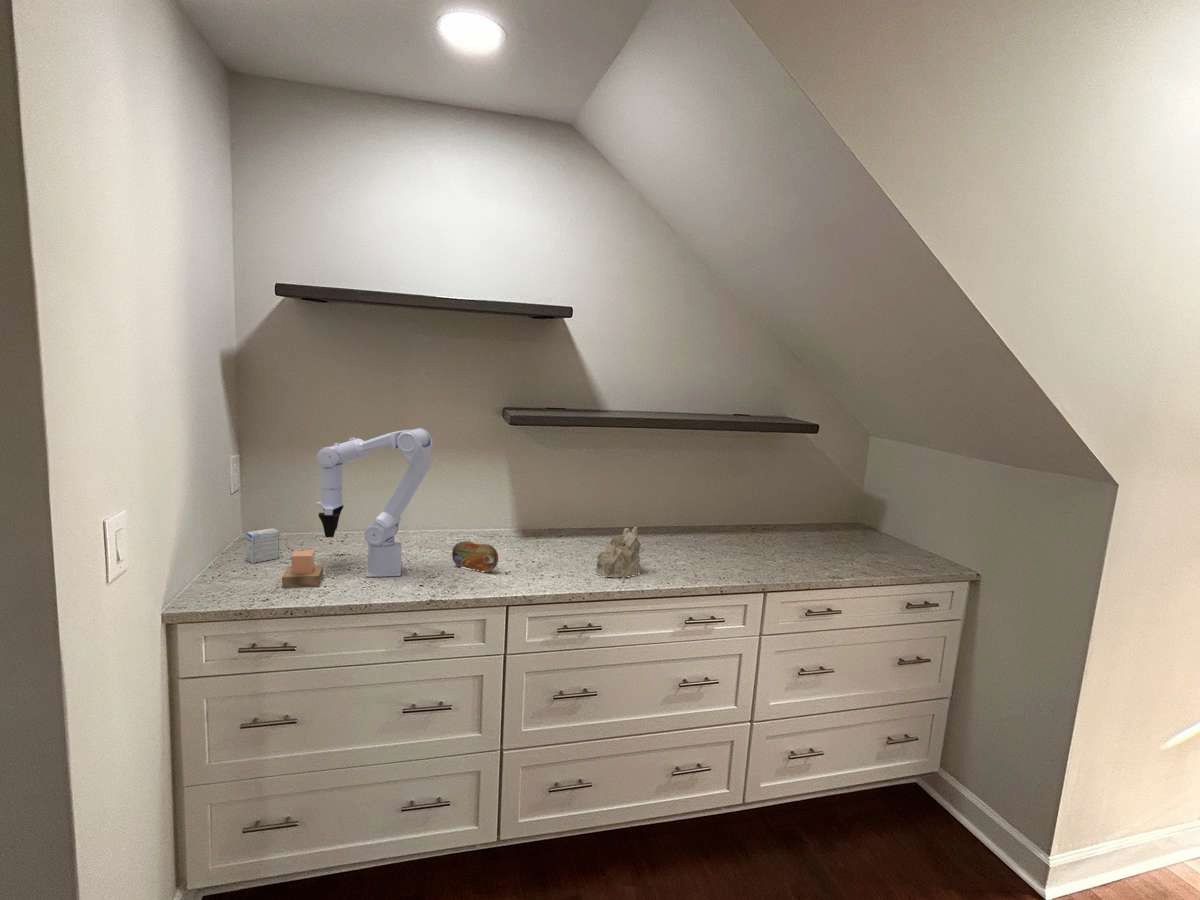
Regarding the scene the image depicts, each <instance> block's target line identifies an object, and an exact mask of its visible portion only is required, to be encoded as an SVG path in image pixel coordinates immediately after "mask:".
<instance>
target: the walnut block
mask: <svg viewBox="0 0 1200 900" xmlns="http://www.w3.org/2000/svg"><path fill="white" fill-rule="evenodd" d="M323 577H324V564H320V565H319V564H318V565H315V564H314V570H313V572H312V574H292V570H291V565H289V566H287V567H286V569H285V571H284V573H283V574H282V577H281V588H282V589H292V588H293V589H295V588H296V589H297V588H313V587H314V588H315V587H316V588H317V587H318V588H319V587H320V585H321V582H322V580H323Z"/></svg>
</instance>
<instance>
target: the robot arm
mask: <svg viewBox="0 0 1200 900" xmlns="http://www.w3.org/2000/svg"><path fill="white" fill-rule="evenodd" d="M433 444H434V443H433V440H432V438H431V435H430V433H429V432H428V431H427V430H426V429H425V428H422V427H415V428H414V429H405V430H398V431H393V432H389V433H386V434H383V435H379V436H377V437H373V438H371V439H367V440H363V439H361V438H356V437H350V438H349V439H348V441H345V442H342V443H341V442H335V443H334V444H333V445H331V446H325V447H323V448H321V449H320V450H319V451H318V452H317V455H316V460H317V463H318V464H319V465H320V501H316V503H315V505H316V506H318V507H319V506H320V507H321V508H322V509H323V512H319V513H318V518H319V519H320V522H321V524H322V528H323V531H324V536H325V538H334V537H335V533H336V530H338V529H337V528H338V524H339V520H340V516H341V513H342V510H343V509H344V502H343V469H344V468H343V467H344V464H347V463H350V462H354V461H357V460H360V459H364V458H366V457H367V455H368V453H369V452H371V451H375V450H378V449H382V448H386V447H392V448H393V449H398V450H399V451H400V452H401V454H402V455H403V457H404V458H405V459H406V460H407V464H408V466H409V467H407V469H406V472H404V474H403V476H402V478H401V480H400V481H399V483H398V484H397V487H396V488H395V489H394V491H393V493H392V495H391V497H390V498H389V500H388V502H387V503H386V505H385V506H384V508H383V510H382V511H381V512H380V514H379V515H377V516H376V517H375V518H374V520H373V522H372V523H370V524H369V525H367V526H366V527H365V529H364V532H363V535H364V539H365V541H366V543H367V544H368V545H367V546H368V547H367V568H366V571H365V578H377V577H379V578H380V577H400V576H402V568H403V561H402V542H397V541H396V540H395V536H396V535H397V534H398V531H399V525H400V523H401V521H402V519H401V516H402V515H403V513H404V512H405V510H406V508H407V507H408V505H409V503H410V501H411V500H412V498H413V496H414V495H415V493H416V491H417V490H418V488H419V487H420V485H421V483H422V481H423V480H424V479H425V476H426V475H427V473H428V472H429V470H430V468H431V461H432V460H431V459H432V458H431V456H432V455H431V454H432V447H433Z"/></svg>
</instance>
